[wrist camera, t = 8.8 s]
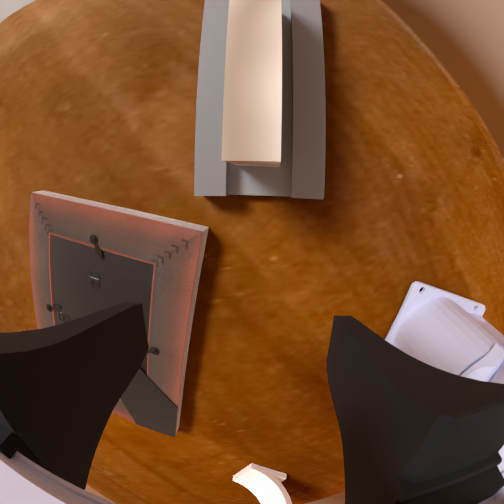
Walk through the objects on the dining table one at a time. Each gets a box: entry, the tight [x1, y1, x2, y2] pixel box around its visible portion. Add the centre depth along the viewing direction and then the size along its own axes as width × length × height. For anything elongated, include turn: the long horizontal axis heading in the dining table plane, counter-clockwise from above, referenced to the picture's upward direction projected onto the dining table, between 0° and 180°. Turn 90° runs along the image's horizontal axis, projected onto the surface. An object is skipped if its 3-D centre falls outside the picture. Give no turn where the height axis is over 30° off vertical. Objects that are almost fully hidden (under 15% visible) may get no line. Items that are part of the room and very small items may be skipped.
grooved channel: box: [194, 0, 326, 200], centre depth 16 cm, size 8×16×2 cm, turn 179°
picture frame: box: [30, 191, 209, 437], centre depth 22 cm, size 16×2×22 cm
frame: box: [222, 0, 282, 167], centre depth 14 cm, size 3×12×6 cm, turn 179°
